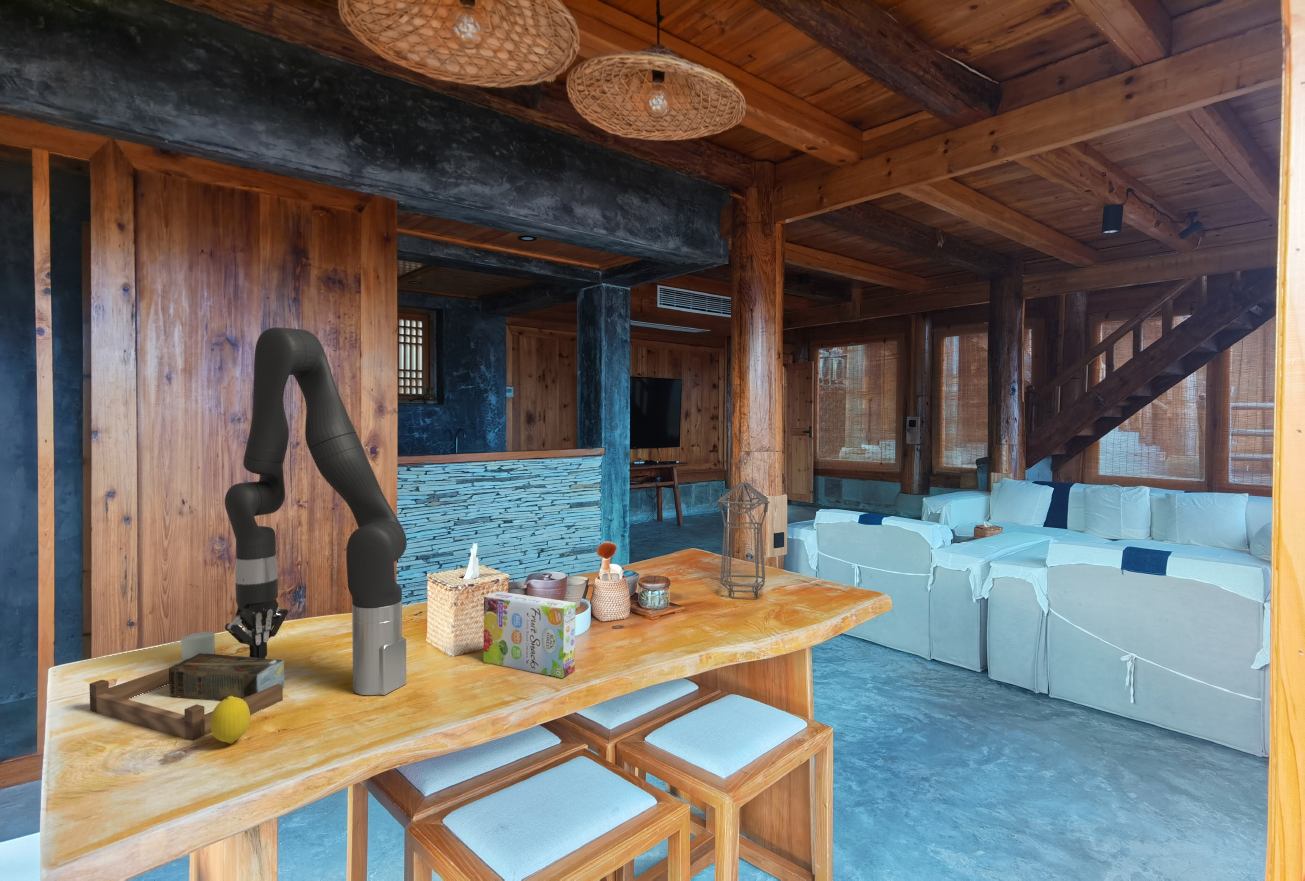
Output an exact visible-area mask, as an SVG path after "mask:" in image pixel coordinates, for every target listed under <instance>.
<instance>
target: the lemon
mask: <svg viewBox="0 0 1305 881" xmlns="http://www.w3.org/2000/svg"><path fill="white" fill-rule="evenodd" d="M212 711H213V713H212V717H211V731H212V732H211V733H212V735H213V737H214V738H215V739H216V740H218V741H220V742H222V743H224V742H225V743H227V744H229V745H232V744H234V743H235V741H236V740H239V739H240V738H241V737H242V736H244V735H245V733H247V730H248V729H249V725H250V722H251V715H250V711H249V707H248V705H247V703H246V702H245V701H244V700H243V699H241V698H238V697H233V696H229V697H227V699H224V700H220V702H218V704H217V705H215V707H214V709H213V710H212Z"/></svg>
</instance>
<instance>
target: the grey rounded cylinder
mask: <svg viewBox="0 0 1305 881" xmlns="http://www.w3.org/2000/svg"><path fill="white" fill-rule="evenodd" d="M180 639H181V640H180V642H181V662H183V661H184V660H186V659H190V658H192V657H194V656H196V655H197V654H199V653H203V654H206V653H207V654H216V635H215V633H214V632H212V631H200V632H199V631H198V632H194V633H189V634H187V635H185V636H182V637H181V638H180Z"/></svg>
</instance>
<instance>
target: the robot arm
mask: <svg viewBox="0 0 1305 881" xmlns="http://www.w3.org/2000/svg"><path fill="white" fill-rule="evenodd" d="M255 343H256V344H255V350H254V356H253V357H254V359H253V360H254V361H253V386H252V389H253V390H252V391H253V392H252V414H251V421H250V428H249V432H248V438H247V442H246V446H245V451H244V456H243V462H242V466H243V468H244V469H245V470H246V471H248V472H249V473H251V474H255V475H259V481H249V482H238V483H235V484H233V485H231V486H230V487H229V489H228V490H227V492H226V493H225V497H224V507H225V508H224V509H225V511H226V514H227V517H228V519H229V522H230V525H231V528H232V531H233V535H234V537H235V538H234V539H235V551H236V552H235V556H236V557H235V558H236V560H235V569H234V576H235V577H234V578H235V581H234V582H235V587H234V588H235V602H236V605H237V610H236V612H235V618H234V619H233V621H231V622H230V623H229V622H228V623H227V624H225V625H224V629H225V631H227V632H228V633H229V634H230V635H231V636H232V637H233V638H234V639H235V640H237V641H238V643H240V644H244V645H248V646H249V657H255V658H265V659H266V657H267V656H268V642H269V639H270V638H273V637H276V635H277V633H278V632H279V630H280V628H281V626H282V624H283V623H284V621H285V619H286V617H287V615H288V614H289V610H288V608H287V609H286V608H282V607H280V606H279V602H278V600H277V599H278V598H279V576H278V575H279V570H278V566H279V564H278V560H277V544H276V543H277V541H276V531H275V529H274V528H273V527H270V526H266V525H264V526H263V525H258V523H257V521H256V517H257V516H265V515H271V514H275V513H276V512H277V511H279V510H280V509H281V507H282V505H283V504H284V502H285V498H286V489H285V480H284V479H285V478H284V477H285V476H284V462H285V457H286V453H287V449H288V446H289V438H290V430H289V422H288V418H287V415H286V411H285V407H284V406H285V405H284V395H285V394H284V393H285V388H286V385H287V383H288V379H289V378H290V376H293V377H294V379H295V380H296V382H297V384H298V386H299V389H300V392H301V393H302V395H303V398H304V401H305V411H306V412H305V413H306V414H305V425H304V429H305V430H304V435H305V436H304V437H305V441H306V442H305V443H306V444H307V448H308V450H309V452H310V455H311V457H312V460H313V461H314V464H315V466H316V468H317V470H318V471H319V473H320V475H321V476H322V477H323V479H324V480H325V481H326V482H327V483H328V484H329V485H330V487H332V489H333V490H334V491H335V492H336V493H337V494H338V495H339V496H340V497H341V498H342V499H343V500H344V502H345V503H346V504H347V506H348V507H349V509H350V512H351V513H352V516H353V518H354V520H355V522H356V525H357V528H356V529H355V530H353V532H352V533H351V534H350V536H349V538H348V540H347V543H346V554H345V558H346V579H347V587H348V592H349V595H350V596H351V604H352V605H351V606H352V608H351V609H352V610H351V611H352V612H351V613H352V614H351V615H352V618H351V619H352V622H351V623H352V625H351V626H352V627H351V628H352V632H351V633H352V637H351V638H352V690H353V692H354V693H355V694H358V695H361V696H362V695H363V696H375V695H380V696H381V695H382V696H386V695H387V694H389V693H391V692H393V691H395V690H397V689H398V688H401V687H403V686H406V685H407V638H406V637H403V589H402V586H401V585H400V584H398V583H397V582H396V578H395V562H396V561H398V560H400V559H401V557H402V556H403V555H404V553H405V552H406V549H407V544H408V543H407V540H408V539H407V536H406V535H407V534H406V532H405V530H404V528H403V526H402V524H401V523H400V521H399V519H398V517H397V516H396V514H395V512H394V511H393V509H392V508H391V506H390V504H389V501H387V499H386V496H385V495H384V493H383V491H382V488H381V486H380V484H379V481H378V479H377V476H376V475H375V472H374V470H373V467H372V466H371V463H370V461H369V459H368V457H367V454H366V451H365V449H364V446H363V445H362V442H361V440H360V438H359V435H358V433H357V431H356V429H355V427H354V425H353V423H352V421H351V419H350V417H349V414H348V411H347V409H346V406H345V404H344V401H343V400H342V397H341V396H340V392H339V390H338V388H337V385H336V383H335V380H334V376H333V374H332V373H333V372H332V370H331V368H330V363H329V361H328V357H327V355H326V352H325V348H324V346H323V345H322V343H321V341H320V340H319V338H318V336H316V335H315V334H314V333H312V332H311V331H308V330H306V329H301V328H292V327H279V326H278V327H269V328H268V329H265V330H264V331H263V332H261V333H260V335H259V336H258V338H257V341H256V342H255ZM243 629H244V630H243Z"/></svg>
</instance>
